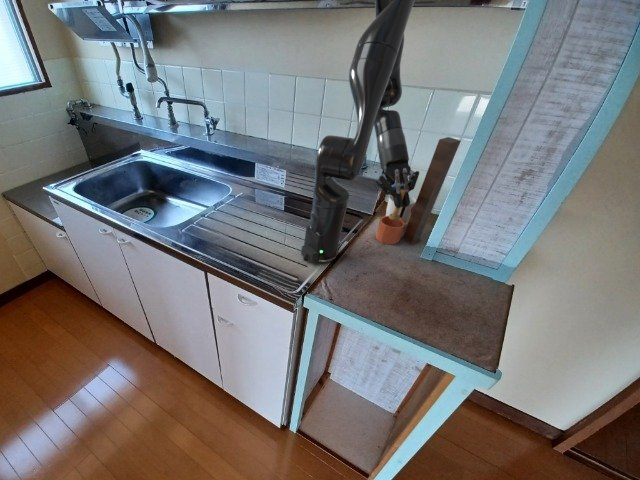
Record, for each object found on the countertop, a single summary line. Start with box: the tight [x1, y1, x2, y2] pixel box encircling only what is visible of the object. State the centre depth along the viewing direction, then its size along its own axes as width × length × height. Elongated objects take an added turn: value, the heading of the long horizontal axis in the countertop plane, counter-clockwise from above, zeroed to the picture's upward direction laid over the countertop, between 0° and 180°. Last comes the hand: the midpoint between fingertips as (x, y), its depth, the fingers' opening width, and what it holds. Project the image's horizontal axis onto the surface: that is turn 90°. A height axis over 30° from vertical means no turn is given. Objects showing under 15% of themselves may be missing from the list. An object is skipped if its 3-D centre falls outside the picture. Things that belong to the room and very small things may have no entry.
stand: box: [401, 136, 462, 245], centre depth 93 cm, size 4×4×30 cm
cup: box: [385, 193, 417, 223], centre depth 106 cm, size 8×8×10 cm
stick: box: [389, 189, 406, 221], centre depth 97 cm, size 3×3×9 cm
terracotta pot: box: [375, 215, 407, 245], centre depth 102 cm, size 7×7×6 cm
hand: (402, 206), depth 95 cm, fingers closed on stick, 1 cm apart
